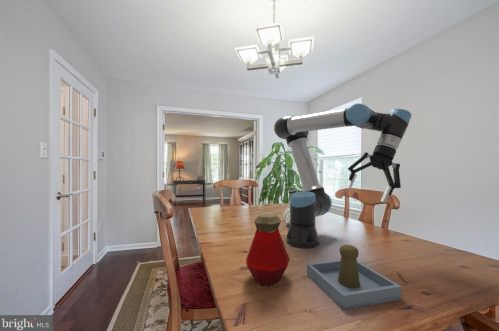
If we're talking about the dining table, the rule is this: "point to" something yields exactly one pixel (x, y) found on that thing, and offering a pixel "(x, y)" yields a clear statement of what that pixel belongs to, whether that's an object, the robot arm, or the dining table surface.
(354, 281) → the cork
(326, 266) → the tray
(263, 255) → the bottle
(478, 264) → the dining table surface
